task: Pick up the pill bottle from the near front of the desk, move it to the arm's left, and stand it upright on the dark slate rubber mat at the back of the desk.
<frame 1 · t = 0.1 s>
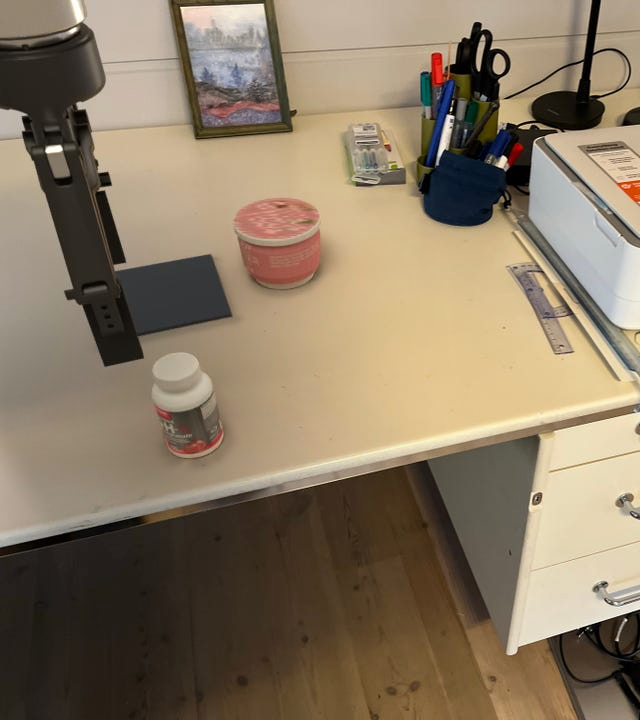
hand: (116, 308, 60), 18 cm above the table, tool pointing down, fingers open, 13 cm apart
container: (284, 273, 97), on the table
pill bottle: (196, 441, 74), on the table
mat: (162, 296, 92), on the table
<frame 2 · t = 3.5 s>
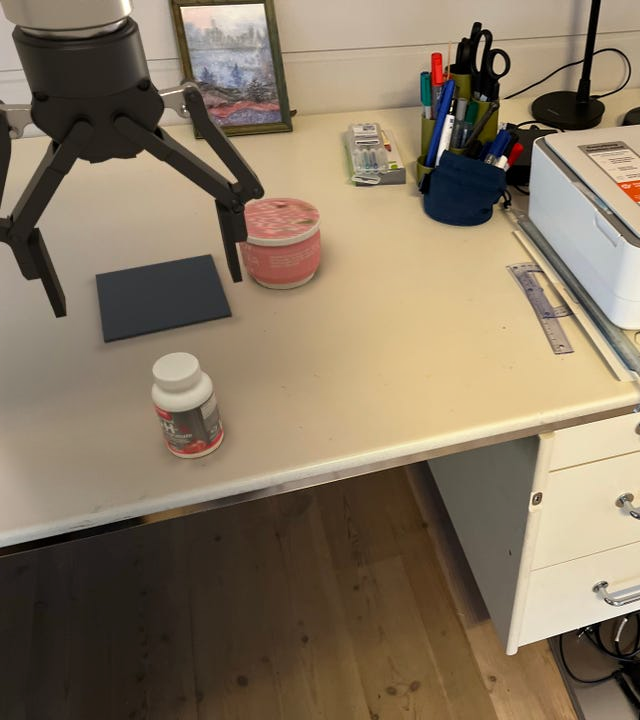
hand: (151, 290, 62), 18 cm above the table, tool pointing down, fingers open, 13 cm apart
nothing on the table moved.
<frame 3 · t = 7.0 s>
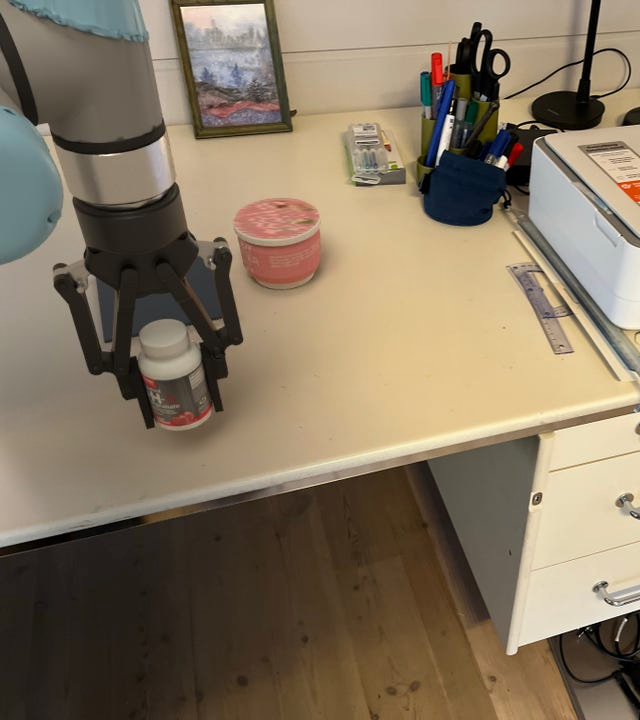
hand: (183, 410, 71), 4 cm above the table, tool pointing down, fingers closed on pill bottle, 5 cm apart
pill bottle: (184, 414, 71), point 4 cm above the table, touching gripper
everything else where it was.
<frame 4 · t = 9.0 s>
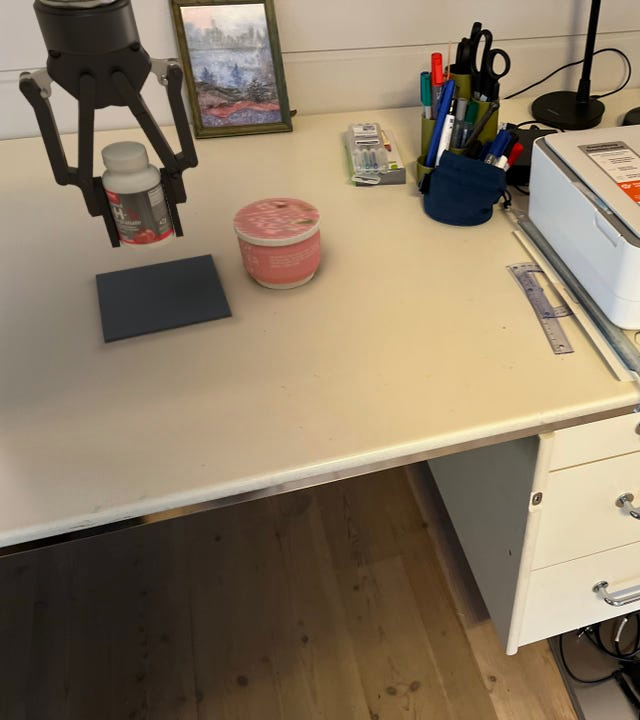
hand: (147, 235, 78), 13 cm above the table, tool pointing down, fingers closed on pill bottle, 5 cm apart
pill bottle: (148, 239, 78), point 13 cm above the table, touching gripper
everything else where it was.
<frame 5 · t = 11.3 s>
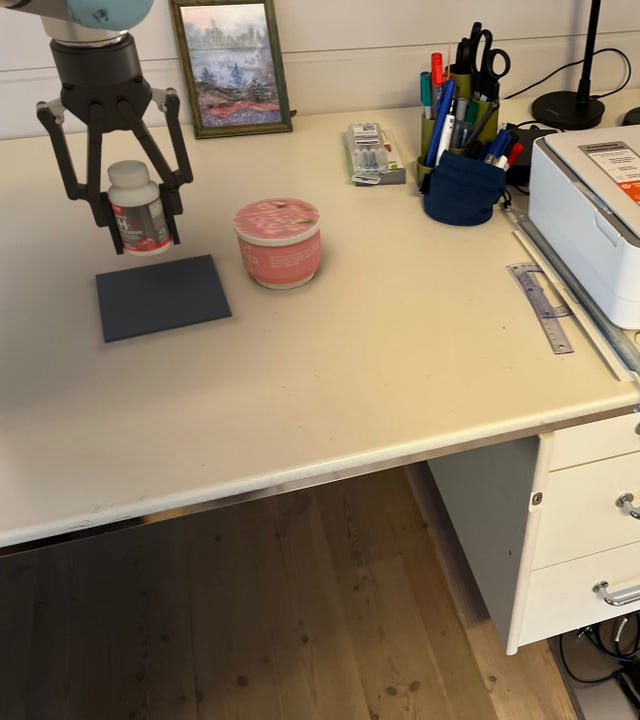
hand: (147, 243, 87), 8 cm above the table, tool pointing down, fingers closed on pill bottle, 5 cm apart
pill bottle: (149, 247, 87), point 7 cm above the table, touching gripper
everything else where it was.
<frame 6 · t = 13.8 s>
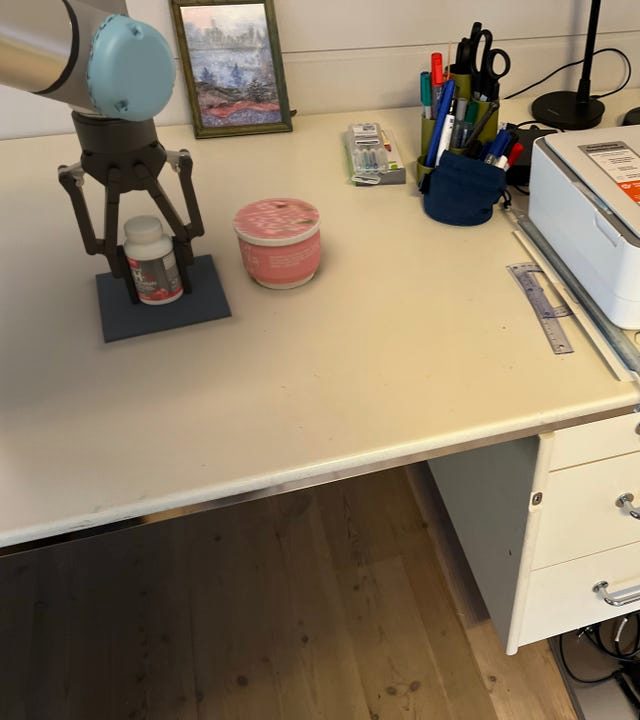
hand: (161, 291, 91), 1 cm above the table, tool pointing down, fingers closed on pill bottle, 5 cm apart
pill bottle: (161, 295, 92), resting on mat, touching gripper
everything else where it was.
when the fingers open (1 cm above the table, at t = 15.9 s): pill bottle stays where it is, resting on mat.
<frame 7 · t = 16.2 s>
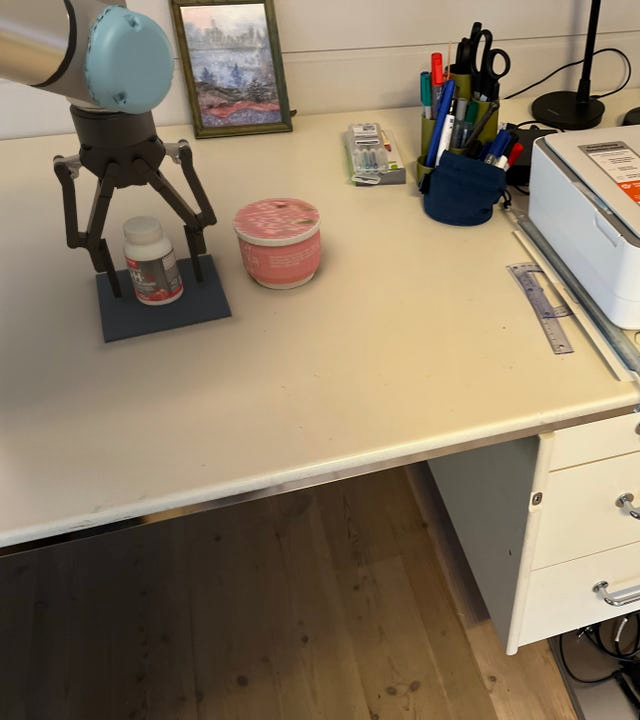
hand: (158, 283, 91), 2 cm above the table, tool pointing down, fingers open, 9 cm apart
pill bottle: (161, 295, 91), resting on mat
everything else where it was.
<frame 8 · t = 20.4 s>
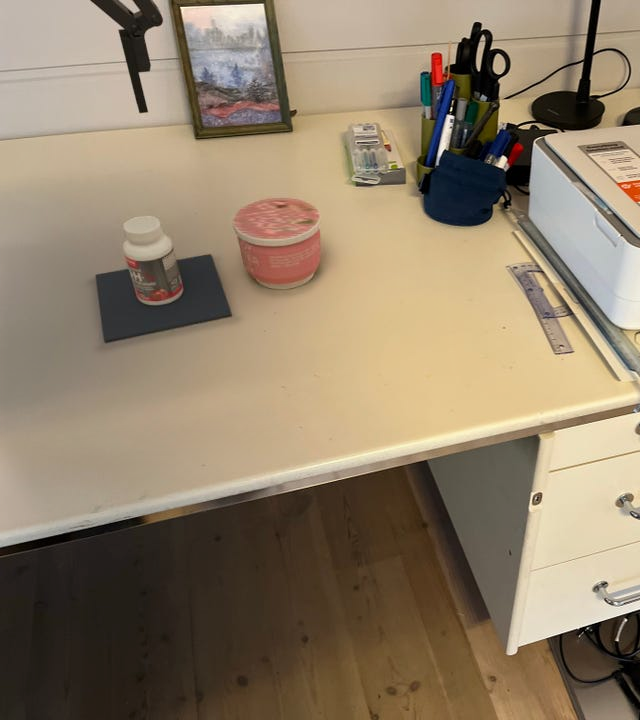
hand: (61, 116, 67), 27 cm above the table, tool pointing down, fingers open, 13 cm apart
nothing on the table moved.
at the end: pill bottle inside the target area on the mat (0.1 cm from its centre), point 0.2 cm above the mat's base; pill bottle tilted 0°; the gripper is holding nothing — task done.
